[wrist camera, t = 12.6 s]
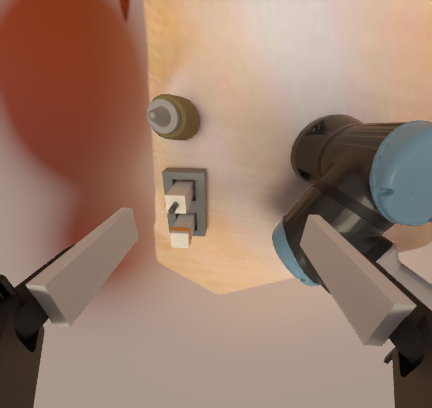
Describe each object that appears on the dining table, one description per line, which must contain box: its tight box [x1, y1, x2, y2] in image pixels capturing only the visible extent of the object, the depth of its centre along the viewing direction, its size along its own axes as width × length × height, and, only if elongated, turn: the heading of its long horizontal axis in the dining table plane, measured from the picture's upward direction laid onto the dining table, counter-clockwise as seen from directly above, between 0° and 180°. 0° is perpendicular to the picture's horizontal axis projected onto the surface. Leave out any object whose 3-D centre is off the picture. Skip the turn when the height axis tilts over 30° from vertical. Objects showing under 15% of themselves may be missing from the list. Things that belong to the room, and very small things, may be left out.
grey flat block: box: [162, 168, 207, 236], centre depth 44 cm, size 10×18×4 cm, turn 179°
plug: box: [170, 213, 196, 248], centre depth 42 cm, size 4×4×11 cm
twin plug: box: [165, 179, 195, 214], centre depth 36 cm, size 4×4×14 cm
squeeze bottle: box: [147, 94, 199, 140], centre depth 29 cm, size 8×8×18 cm
